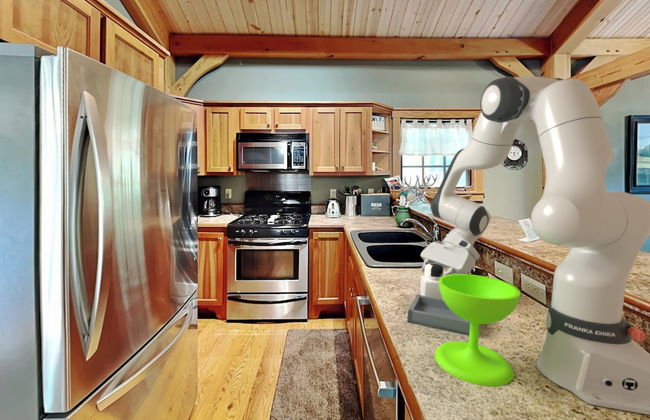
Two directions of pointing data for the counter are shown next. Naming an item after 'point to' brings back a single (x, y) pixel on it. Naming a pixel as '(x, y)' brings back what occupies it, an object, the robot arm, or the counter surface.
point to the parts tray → (436, 315)
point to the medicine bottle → (431, 281)
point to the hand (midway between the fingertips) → (432, 275)
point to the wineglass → (476, 327)
